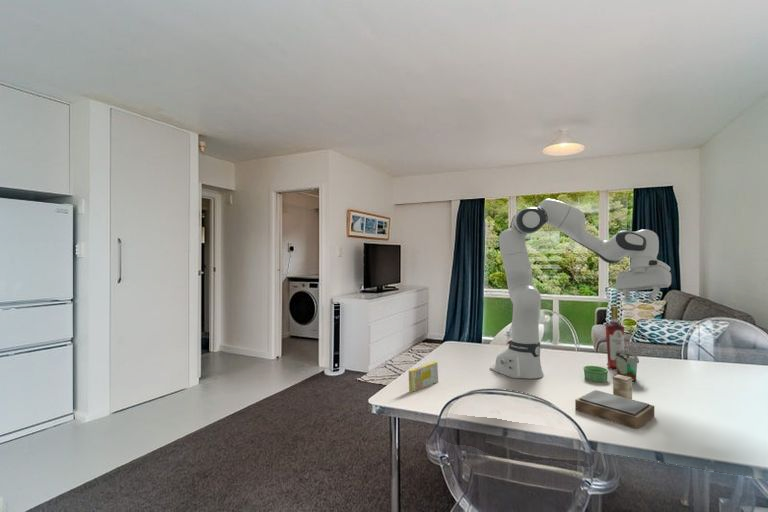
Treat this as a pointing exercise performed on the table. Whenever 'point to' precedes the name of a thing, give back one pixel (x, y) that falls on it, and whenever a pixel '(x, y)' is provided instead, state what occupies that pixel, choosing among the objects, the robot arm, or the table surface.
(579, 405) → the brown flat block
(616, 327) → the liquor
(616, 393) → the tan cylinder
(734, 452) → the table surface
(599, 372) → the ramekin
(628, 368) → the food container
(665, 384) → the table surface
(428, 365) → the candy box
